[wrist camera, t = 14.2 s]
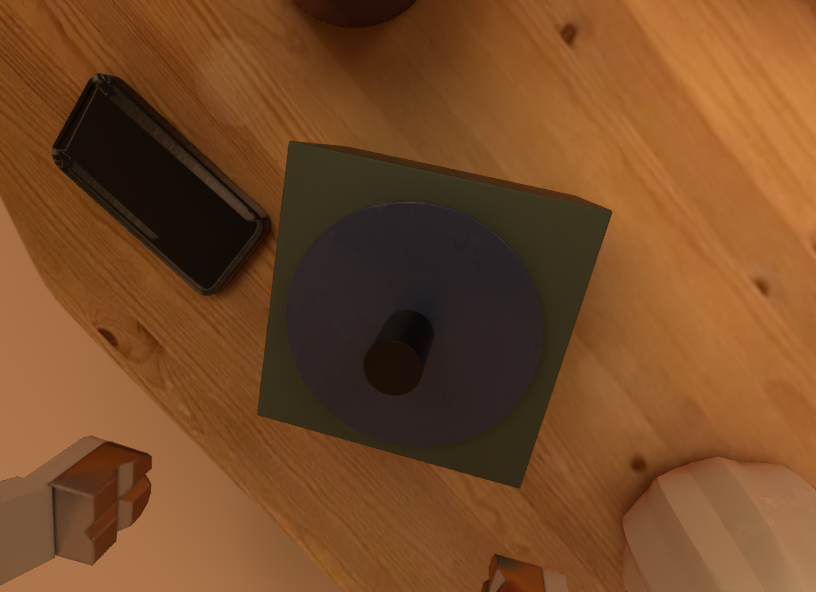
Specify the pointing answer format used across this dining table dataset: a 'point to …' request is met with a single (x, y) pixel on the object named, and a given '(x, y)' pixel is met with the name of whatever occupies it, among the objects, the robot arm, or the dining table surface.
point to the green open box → (470, 193)
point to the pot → (354, 11)
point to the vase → (722, 530)
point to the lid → (414, 323)
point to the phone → (158, 185)
